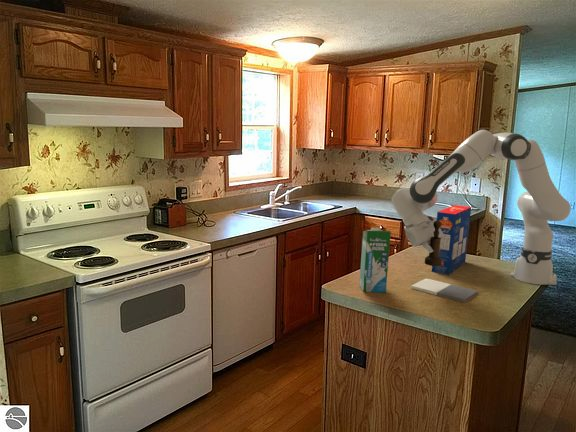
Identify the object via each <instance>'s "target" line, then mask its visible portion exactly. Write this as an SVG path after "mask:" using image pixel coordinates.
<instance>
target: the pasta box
mask: <svg viewBox="0 0 576 432" xmlns="http://www.w3.org/2000/svg"><path fill="white" fill-rule="evenodd" d="M471 213H472V206H465V205H457V204H454V205H451V206H448V207H446V208H443V209H440V210H439V211H437V214H436V221H440V222H441V227H440V229H441V231H442V232H443V234H444V237H443V238H442V239H441V242H440V247H441V250H440V251H439V257H440V258H441V259H442V265H441V266H431V272H432V273H438V274H442V275H447V276H449V275H451V274H452V273H453V272H455V271H457V269H459V268H460V267H461V266H462V265H464V264H465V263H466V259H467V258H466V257H467V247H468V241H469V233H470V231H469V230H470V223H471V221H470V220H471Z"/></svg>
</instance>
